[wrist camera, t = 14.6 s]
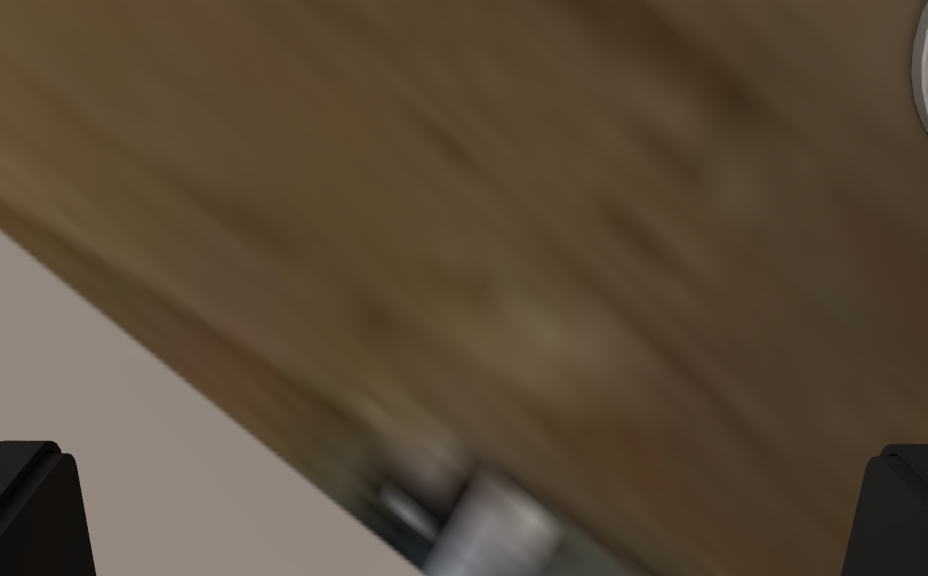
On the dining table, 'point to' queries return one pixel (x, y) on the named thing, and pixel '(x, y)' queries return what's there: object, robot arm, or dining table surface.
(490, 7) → the dining table surface
